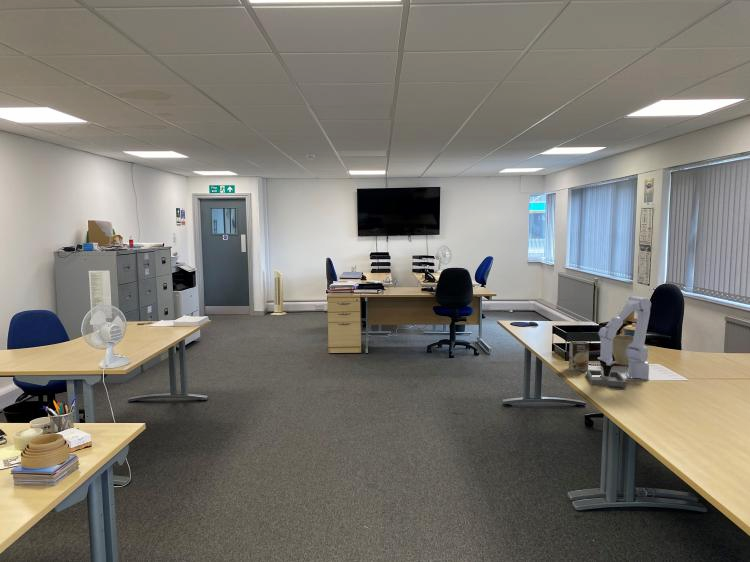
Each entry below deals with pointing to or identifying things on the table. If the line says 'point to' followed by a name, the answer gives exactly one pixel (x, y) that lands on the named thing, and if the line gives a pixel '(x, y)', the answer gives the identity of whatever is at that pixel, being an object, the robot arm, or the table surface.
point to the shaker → (603, 374)
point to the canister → (629, 330)
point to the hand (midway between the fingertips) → (605, 375)
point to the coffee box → (578, 355)
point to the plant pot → (621, 348)
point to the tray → (614, 380)
